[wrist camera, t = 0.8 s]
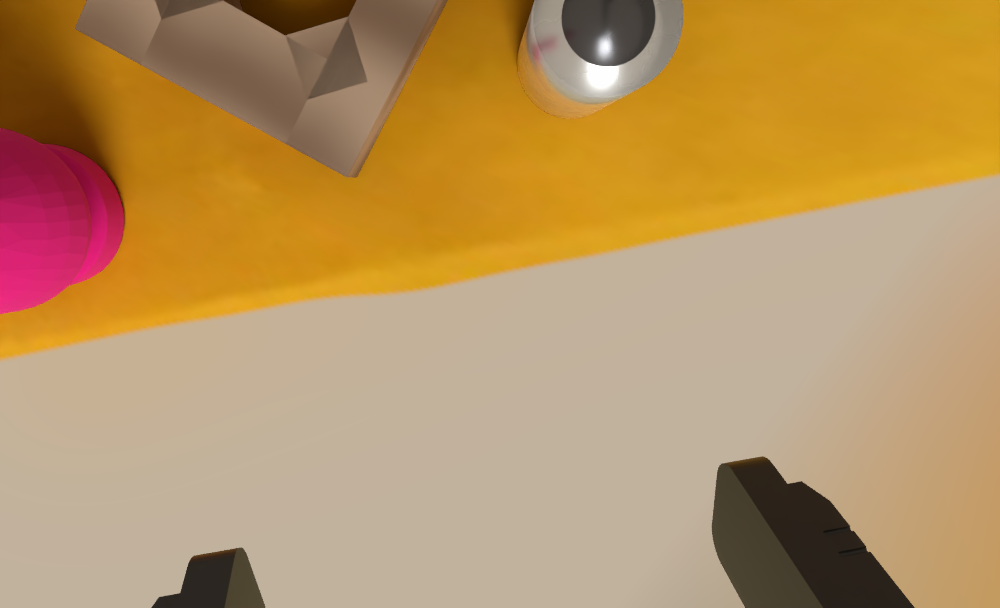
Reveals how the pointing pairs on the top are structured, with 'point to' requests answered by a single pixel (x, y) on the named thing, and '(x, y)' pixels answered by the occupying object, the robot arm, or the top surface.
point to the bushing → (594, 51)
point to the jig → (278, 65)
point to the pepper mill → (52, 220)
